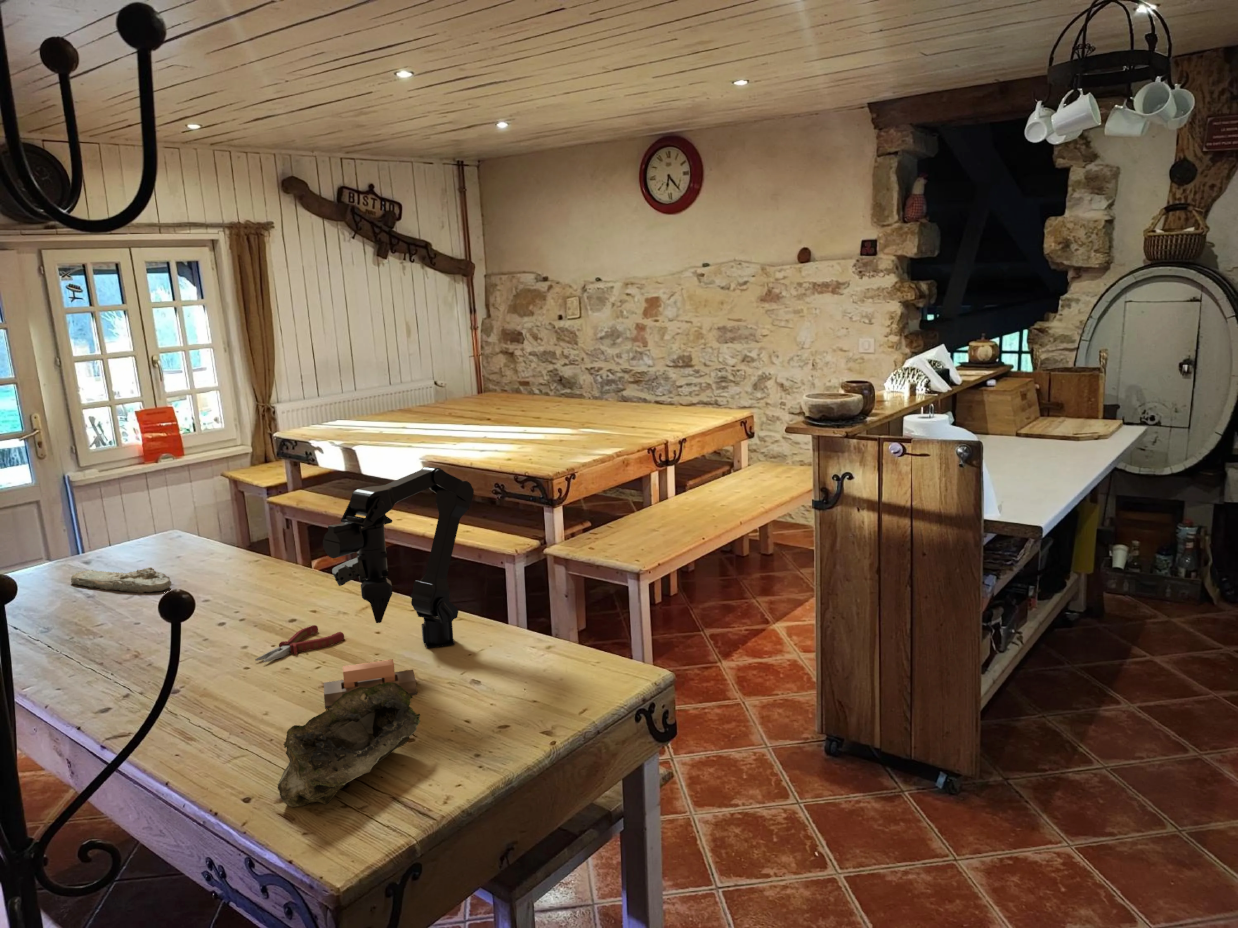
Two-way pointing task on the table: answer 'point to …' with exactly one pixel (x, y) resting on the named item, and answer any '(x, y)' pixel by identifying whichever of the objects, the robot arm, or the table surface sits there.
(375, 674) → the clip
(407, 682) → the rail
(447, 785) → the table surface
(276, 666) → the table surface
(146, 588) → the elongated rock
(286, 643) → the pliers
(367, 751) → the hollow geode rock
